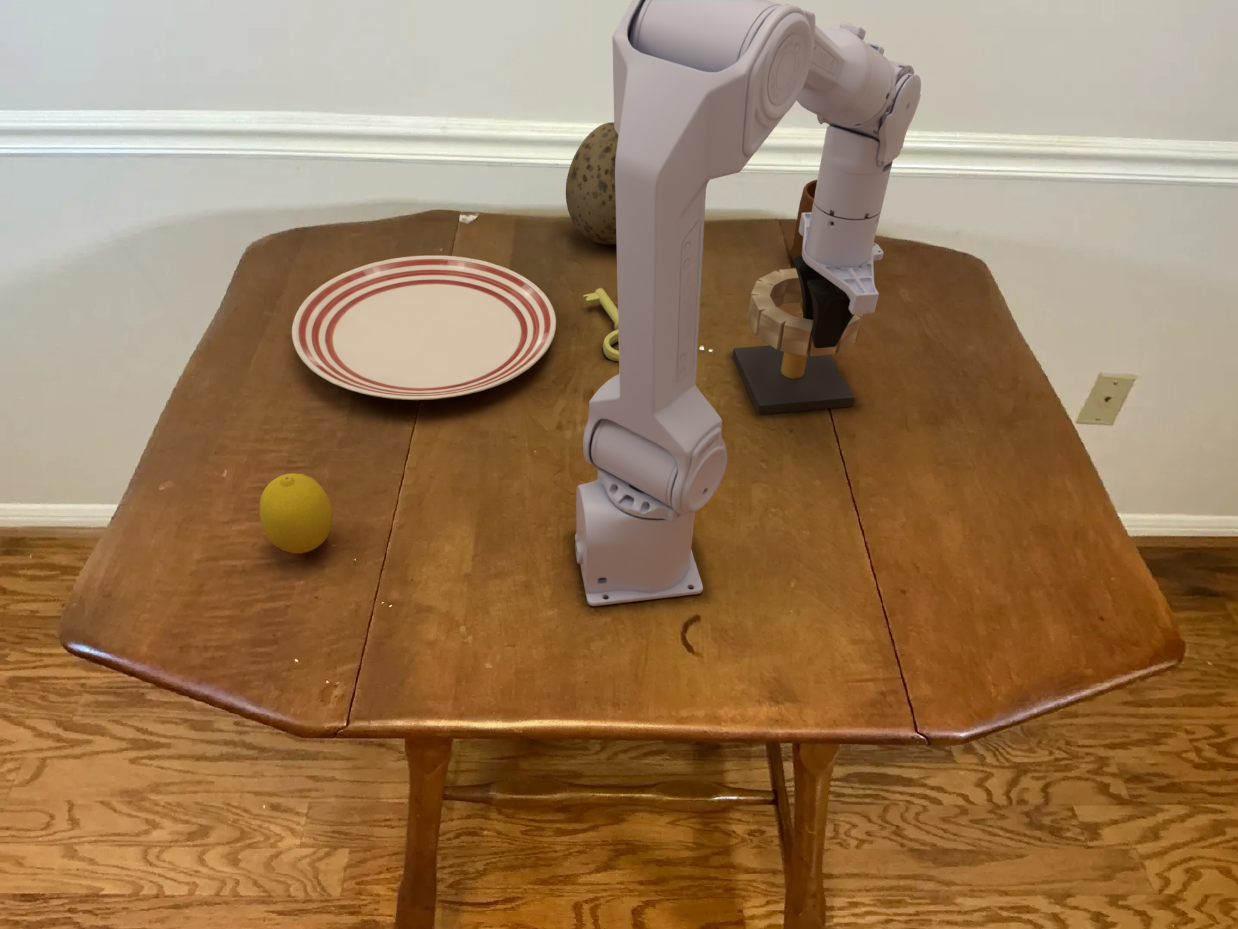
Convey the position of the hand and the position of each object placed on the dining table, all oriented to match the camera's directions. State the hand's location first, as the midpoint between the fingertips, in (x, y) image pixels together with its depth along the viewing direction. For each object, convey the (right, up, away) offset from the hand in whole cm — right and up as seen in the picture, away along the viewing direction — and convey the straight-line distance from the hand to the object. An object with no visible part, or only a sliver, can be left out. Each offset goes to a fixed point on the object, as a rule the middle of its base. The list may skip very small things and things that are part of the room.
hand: (820, 337), depth 89 cm
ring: (-1, +2, +4) cm, 5 cm away
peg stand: (-1, -3, +10) cm, 10 cm away
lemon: (-45, -19, -10) cm, 50 cm away
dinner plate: (-40, +1, +13) cm, 42 cm away
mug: (+6, +12, +27) cm, 30 cm away
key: (-19, +2, +16) cm, 24 cm away
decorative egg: (-20, +16, +31) cm, 41 cm away
